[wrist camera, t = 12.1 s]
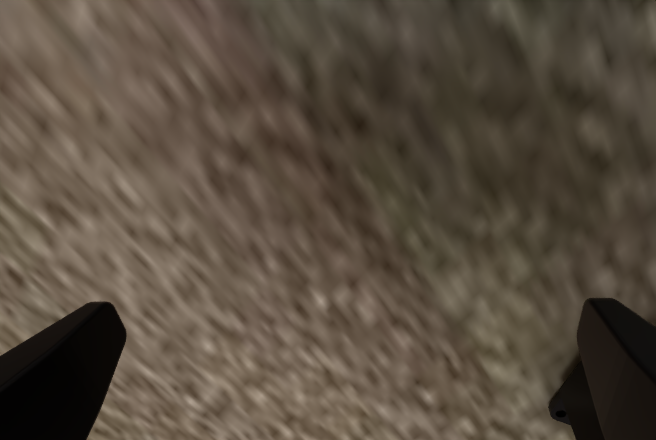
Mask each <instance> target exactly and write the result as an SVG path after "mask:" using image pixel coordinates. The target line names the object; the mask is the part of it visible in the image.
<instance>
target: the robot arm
mask: <svg viewBox="0 0 656 440" xmlns="http://www.w3.org/2000/svg"><path fill="white" fill-rule="evenodd" d="M125 342H126V329H125V327H124V325H123V323H122V321H121V319H120V317H119V315H118V313H117V311H116V309H115V307H114V306H113V304H111V303H110V302H90V303H87V304H85V305H84V306H82V307H80V308H79V309H77V310H75V311H74V312H72V313H71V314H69V315H67V316H66V317H64V318H62V319H61V320H59V321H57V322H56V323H54V324H52V325H51V326H49V327H47V328H46V329H44V330H42V331H41V332H39V333H37V334H36V335H34V336H33V337H31V338H29V339H28V340H26V341H24V342H23V343H21V344H19V345H18V346H16V347H14V348H13V349H11V350H9V351H8V352H6V353H4V354H3V355H1V356H0V440H86V439H87V437H88V435H89V433H90V431H91V429H92V427H93V425H94V423H95V420H96V418H97V416H98V414H99V412H100V409H101V407H102V404H103V402H104V399H105V396H106V394H107V391H108V388H109V386H110V383H111V380H112V377H113V375H114V372H115V369H116V367H117V364H118V361H119V358H120V356H121V353H122V350H123V348H124V345H125ZM577 344H578V348H579V352H580V355H581V359H582V361H581V362H580V363H579V365H578V366H577V367H576V369H575V370H574V371H573V372H572V374H571V375H570V376H569V378H568V379H567V380H566V382H565V383H564V384H563V386H562V387H561V388H560V390H559V392H558V394H557V395H556V396H555V398H554V399H553V400H552V402H551V403H550V404H549V407H548V408H549V412H550V415H551V417H552V418H553V419H555V420H557V421H560V422H563V423H566V424H569V425H571V426H572V429H573V432H574V435H575V438H576V440H656V327H655V326H653V325H652V324H650V323H649V322H648V321H646V320H645V319H643V318H642V317H640V316H639V315H637V314H636V313H635V312H633V311H632V310H630V309H629V308H627V307H626V306H624V305H623V304H622V303H620V302H619V301H617V300H615V299H613V298H589V299H587V300H586V301H585V303H584V305H583V309H582V313H581V317H580V322H579V326H578V330H577ZM560 410H562V411H560Z"/></svg>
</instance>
